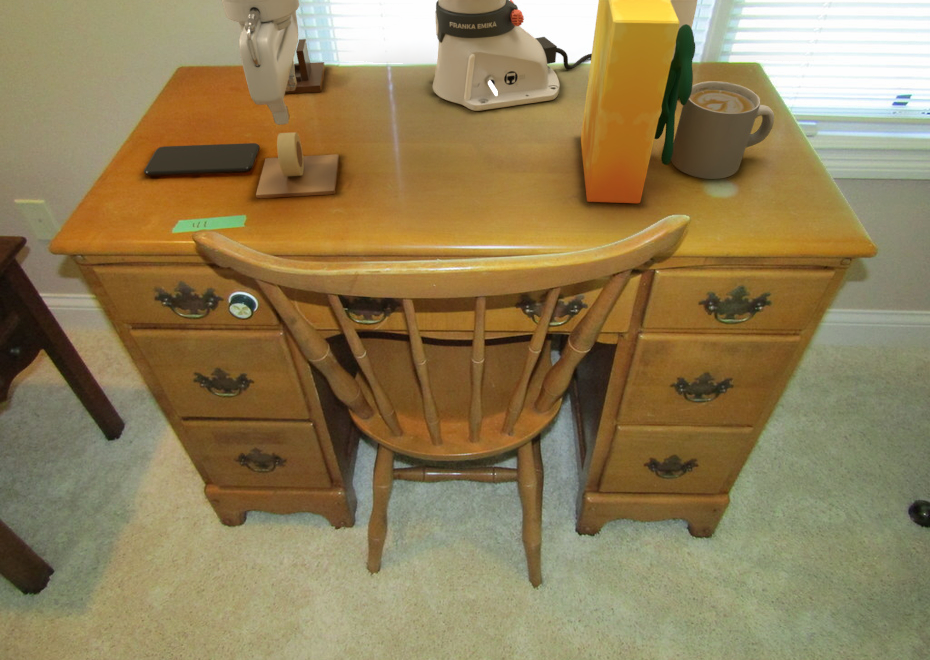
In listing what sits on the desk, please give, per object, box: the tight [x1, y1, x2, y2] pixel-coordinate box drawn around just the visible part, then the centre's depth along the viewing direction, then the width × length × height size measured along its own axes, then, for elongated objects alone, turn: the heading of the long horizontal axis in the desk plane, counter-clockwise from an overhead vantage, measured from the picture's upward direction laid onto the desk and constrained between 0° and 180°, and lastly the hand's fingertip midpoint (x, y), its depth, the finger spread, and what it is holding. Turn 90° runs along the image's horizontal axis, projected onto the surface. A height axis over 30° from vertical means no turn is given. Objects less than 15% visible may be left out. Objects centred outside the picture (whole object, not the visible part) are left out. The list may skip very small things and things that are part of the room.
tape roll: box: [276, 132, 304, 177], centre depth 90 cm, size 2×6×6 cm, turn 5°
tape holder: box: [285, 38, 326, 95], centre depth 113 cm, size 10×10×6 cm
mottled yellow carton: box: [580, 0, 696, 204], centre depth 85 cm, size 18×12×24 cm
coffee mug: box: [670, 80, 775, 180], centre depth 91 cm, size 13×10×10 cm
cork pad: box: [255, 153, 340, 199], centre depth 93 cm, size 11×10×1 cm
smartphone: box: [143, 142, 261, 177], centre depth 96 cm, size 8×1×16 cm
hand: (287, 104), depth 85 cm, fingers open, 8 cm apart
